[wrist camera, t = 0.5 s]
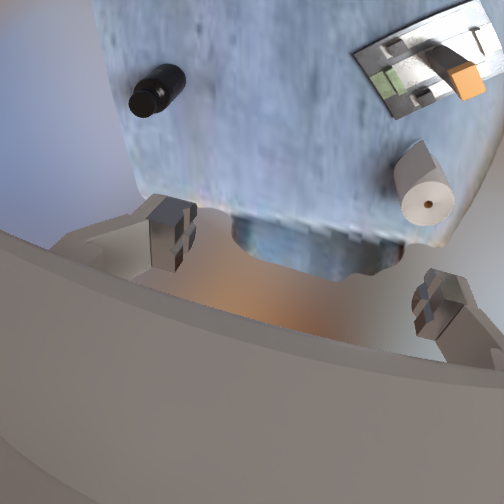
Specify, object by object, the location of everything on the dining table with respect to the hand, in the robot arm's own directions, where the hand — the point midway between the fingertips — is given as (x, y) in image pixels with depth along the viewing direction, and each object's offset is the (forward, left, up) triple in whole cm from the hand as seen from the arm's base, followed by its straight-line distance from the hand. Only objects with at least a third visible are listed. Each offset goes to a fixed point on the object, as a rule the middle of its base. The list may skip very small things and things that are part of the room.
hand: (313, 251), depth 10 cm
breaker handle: (-9, +18, -44) cm, 49 cm away
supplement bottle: (+20, -19, -46) cm, 54 cm away
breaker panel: (-9, +18, -46) cm, 50 cm away
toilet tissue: (+12, +31, -46) cm, 57 cm away
